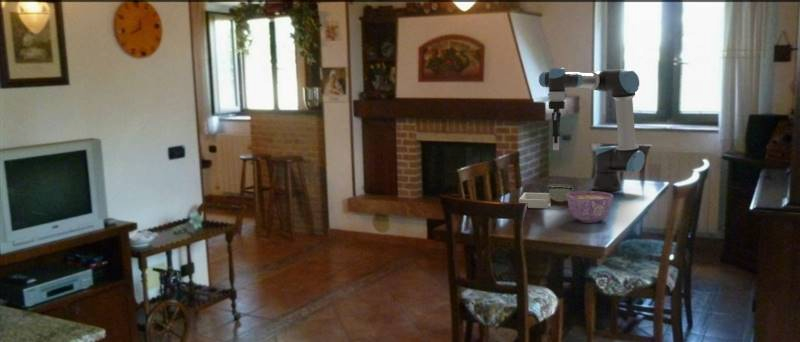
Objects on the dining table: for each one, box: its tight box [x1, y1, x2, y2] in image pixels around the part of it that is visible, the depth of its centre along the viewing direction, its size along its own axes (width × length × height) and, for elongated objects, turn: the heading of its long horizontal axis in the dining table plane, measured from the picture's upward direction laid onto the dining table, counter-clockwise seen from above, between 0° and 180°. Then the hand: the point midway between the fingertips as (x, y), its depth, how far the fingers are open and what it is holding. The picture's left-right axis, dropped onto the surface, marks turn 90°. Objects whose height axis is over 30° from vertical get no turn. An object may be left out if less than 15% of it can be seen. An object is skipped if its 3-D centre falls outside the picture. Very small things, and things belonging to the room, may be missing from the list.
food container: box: [547, 183, 574, 208], centre depth 364 cm, size 12×6×10 cm, turn 71°
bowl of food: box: [566, 190, 614, 224], centre depth 327 cm, size 20×20×12 cm
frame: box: [518, 192, 550, 209], centre depth 368 cm, size 14×18×4 cm
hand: (555, 149), depth 359 cm, fingers closed
